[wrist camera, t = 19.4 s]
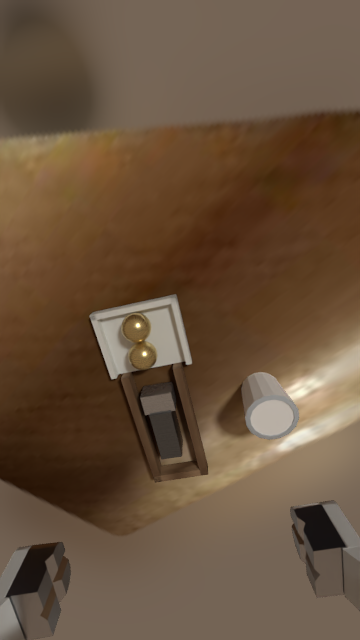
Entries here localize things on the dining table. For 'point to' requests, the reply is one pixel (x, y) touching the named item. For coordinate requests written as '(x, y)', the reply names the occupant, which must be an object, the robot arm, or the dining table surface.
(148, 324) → the shiny gold ball
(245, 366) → the dining table surface
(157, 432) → the long gray brick
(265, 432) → the white cup
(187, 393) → the slot rail
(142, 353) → the brass sphere
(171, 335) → the tray
